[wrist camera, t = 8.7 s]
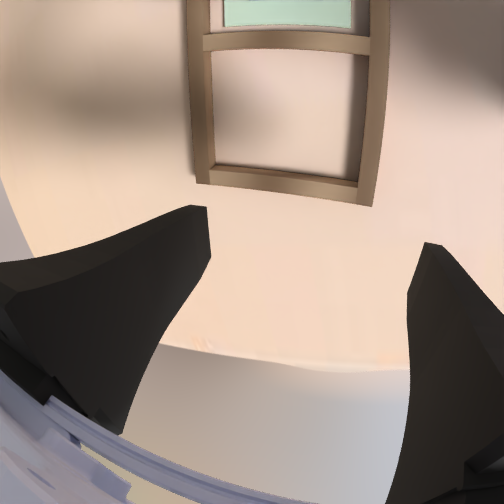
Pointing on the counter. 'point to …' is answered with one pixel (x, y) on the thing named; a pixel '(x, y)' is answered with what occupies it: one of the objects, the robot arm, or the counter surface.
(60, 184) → the counter surface
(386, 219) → the counter surface
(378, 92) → the rack
